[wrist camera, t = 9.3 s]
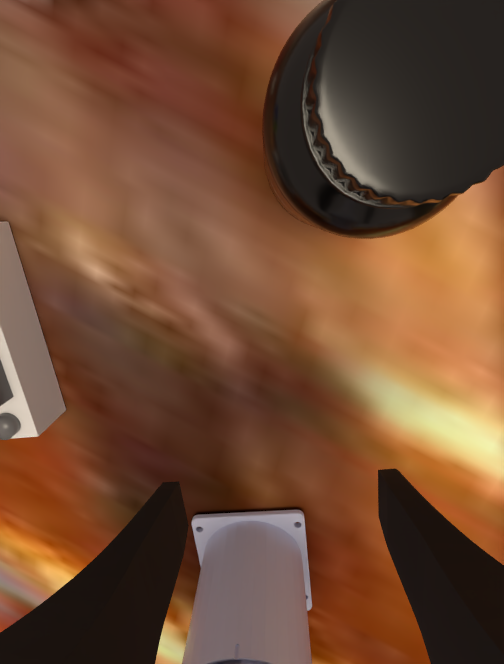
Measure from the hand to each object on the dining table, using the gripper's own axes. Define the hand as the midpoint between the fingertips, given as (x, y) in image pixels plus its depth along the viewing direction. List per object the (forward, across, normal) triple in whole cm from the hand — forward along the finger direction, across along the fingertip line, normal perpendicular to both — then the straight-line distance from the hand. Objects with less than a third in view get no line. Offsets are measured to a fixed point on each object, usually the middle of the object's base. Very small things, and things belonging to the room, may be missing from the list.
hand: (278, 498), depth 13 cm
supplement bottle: (+10, -4, -12) cm, 16 cm away
